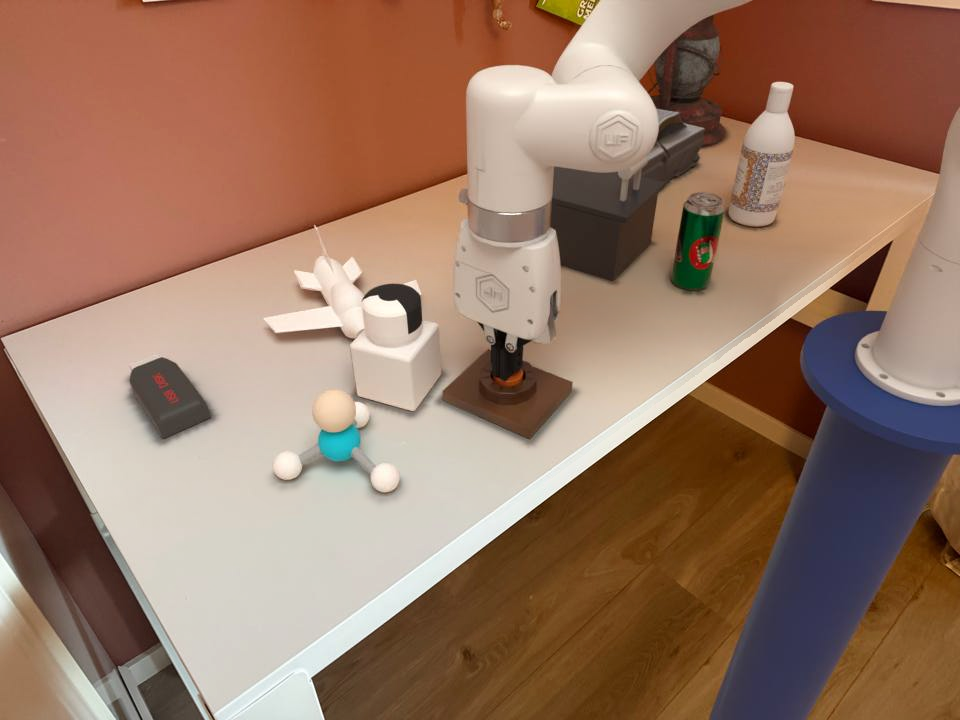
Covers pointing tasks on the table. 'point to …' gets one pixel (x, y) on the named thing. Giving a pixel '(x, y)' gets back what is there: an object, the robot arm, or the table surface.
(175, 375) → the usb drive
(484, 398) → the brown base plate
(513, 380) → the button
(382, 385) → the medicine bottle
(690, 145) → the bible
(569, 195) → the door
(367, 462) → the molecule model
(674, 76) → the lantern
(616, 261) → the dark grey box
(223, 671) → the table surface
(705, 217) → the soda can
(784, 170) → the bath foam
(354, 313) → the airplane model
